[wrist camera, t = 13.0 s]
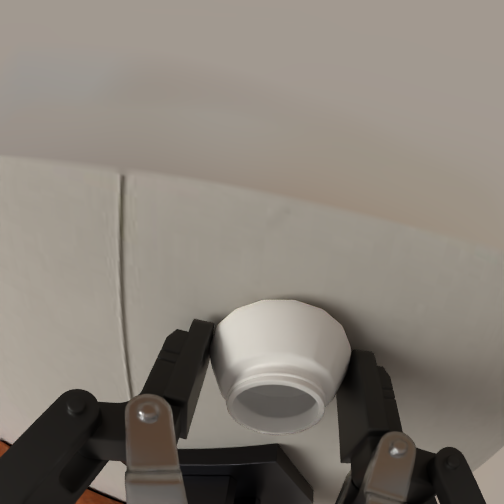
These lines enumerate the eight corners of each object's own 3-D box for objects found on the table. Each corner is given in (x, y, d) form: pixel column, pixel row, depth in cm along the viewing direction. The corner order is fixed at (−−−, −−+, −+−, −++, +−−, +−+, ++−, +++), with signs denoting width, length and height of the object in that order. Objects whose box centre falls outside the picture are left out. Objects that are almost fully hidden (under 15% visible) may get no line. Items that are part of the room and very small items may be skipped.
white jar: (189, 344, 12) (281, 403, 13) (166, 401, 10) (276, 459, 11) (278, 264, 10) (373, 346, 11) (272, 324, 8) (387, 407, 9)
